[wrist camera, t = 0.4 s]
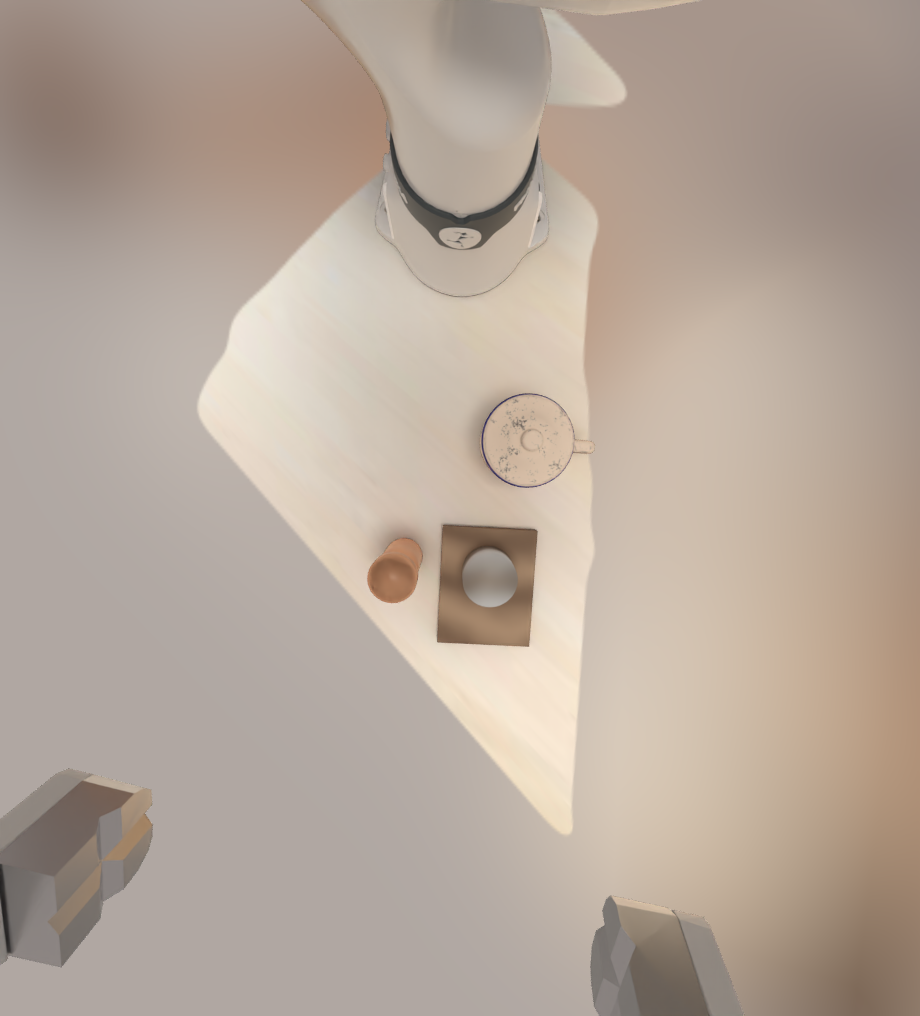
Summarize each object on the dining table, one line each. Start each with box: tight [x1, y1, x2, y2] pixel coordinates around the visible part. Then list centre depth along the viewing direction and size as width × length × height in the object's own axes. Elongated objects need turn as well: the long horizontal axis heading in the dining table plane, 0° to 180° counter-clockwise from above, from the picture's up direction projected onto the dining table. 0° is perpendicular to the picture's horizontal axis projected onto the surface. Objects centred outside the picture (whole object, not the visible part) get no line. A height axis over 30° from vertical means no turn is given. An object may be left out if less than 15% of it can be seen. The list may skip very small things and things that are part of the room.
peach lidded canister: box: [367, 538, 422, 603], centre depth 49 cm, size 5×5×10 cm
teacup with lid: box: [480, 394, 595, 488], centre depth 47 cm, size 12×9×12 cm
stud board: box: [437, 525, 537, 647], centre depth 52 cm, size 14×11×5 cm
